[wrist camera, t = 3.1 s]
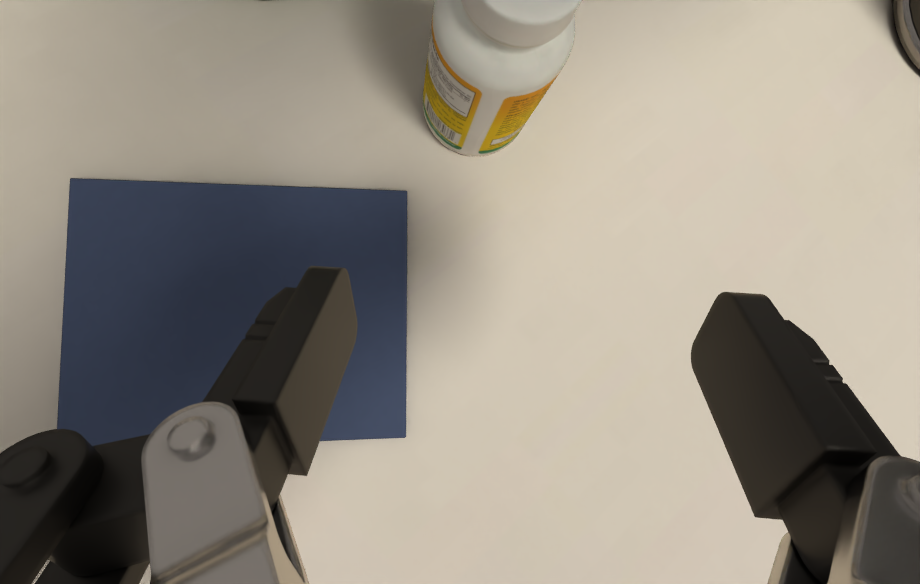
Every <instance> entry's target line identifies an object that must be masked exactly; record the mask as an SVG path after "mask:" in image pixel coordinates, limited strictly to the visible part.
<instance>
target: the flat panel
mask: <svg viewBox="0 0 920 584" xmlns="http://www.w3.org/2000/svg"><path fill="white" fill-rule="evenodd" d="M310 266H324V267H340V268H346V269H347V271H348V274H349V278H350V283H351V289H352V294H353V299H354V305H355V310H356V315H357V337H356V342H355V345H354V348H353V351H352V353H351V356H350V359H349V362H348V364H347V367H346V370H345V373H344V375H343V378H342V381H341V384H340V386H339V389H338V392H337V395H336V397H335V400H334V403H333V405H332V408H331V411H330V414H329V416H328V419H327V422H326V425H325V427H324V430H323V433H322V436H321V438H320V441H332V440H357V439H383V438H405V437H406V337H407V191H397V190H370V189H343V188H317V187H290V186H263V185H236V184H209V183H183V182H156V181H129V180H102V179H75V178H71V179H70V191H69V210H68V229H67V248H66V268H65V287H64V306H63V325H62V344H61V363H60V382H59V401H58V420H57V429H69V430H73V431H76V432H78V433H79V434H81V435H82V436H83V437H84V438H85V439H86V440H87V441H88V442H89V443H90V444H91V445H92V446H95V445H99V444H104V443H109V442H114V441H119V440H124V439H129V438H134V437H138V436H143V435H148V434H151V433H152V432H153V430H154V429H155V428H156V427H157V426H158V425H159V424H160V423H161V422H162V421H163V420H165V419H166V418H167V417H169V416H170V415H172V414H173V413H175V412H177V411H178V410H180V409H183V408H185V407H187V406H190V405H193V404H197V403H201V402H202V401H203V399H204V398H205V397H206V395H207V394H208V392H209V391H210V389H211V387H212V386H213V384H214V383H215V381H216V380H217V378H218V377H219V375H220V373H221V372H222V370H223V369H224V367H225V366H226V364H227V363H228V361H229V359H230V358H231V356H232V355H233V353H234V352H235V350H236V349H237V347H238V345H239V344H240V342H241V341H242V339H245V335H246V333H247V331H248V330H249V328H250V327H251V325H252V324H255V319H256V317H257V316H258V314H259V313H260V311H261V310H262V308H263V307H264V305H265V303H266V302H267V301H268V300H270V299H271V298H272V297H274V296H275V295H276V294H277V293H279V292H280V291H281V290H283V289H284V288H285V287H292V288H297V286H298V284H299V282H300V281H301V279H302V277H303V276H304V274H305V272H306V270H307V269H308V268H309V267H310Z"/></svg>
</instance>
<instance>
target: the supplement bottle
mask: <svg viewBox="0 0 920 584" xmlns="http://www.w3.org/2000/svg"><path fill="white" fill-rule="evenodd" d="M581 1H582V0H435V3H434V8H433V15H432V23H431V32H430V40H429V49H428V57H427V64H426V72H425V82H424V89H423V111H424V115H425V119H426V122H427V124H428V126H429V128H430V130H431V131H432V133H433V134H434V136H435V137H436V138H437V139H438V140H439V141H440V142H441V143H442V144H443V145H445V146H446V147H447V148H449V149H451V150H453V151H455V152H457V153H460V154H463V155H467V156H487V155H490V154H493V153H495V152H498V151H499V150H501V149H503V148H505V147H506V146H507V145H509V144H510V143H511V142H512V141H513V140H514V139H515V138H516V136H517V135H518V134H519V132H520V131H521V129H522V128H523V126H524V125H525V123H526V122H527V120H528V119H529V117H530V116H531V114H532V113H533V111H534V110H535V108H536V107H537V105H538V104H539V102H540V101H541V99H542V98H543V96H544V95H545V93H546V92H547V90H548V89H549V87H550V86H551V84H552V83H553V81H554V80H555V79H556V77H557V76H558V74H559V72H560V71H561V69H562V68H563V66H564V65H565V63H566V61H567V59H568V57H569V55H570V52H571V49H572V46H573V42H574V37H575V12H576V10H577V8H578V6H579V4H580V3H581Z"/></svg>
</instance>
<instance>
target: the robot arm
mask: <svg viewBox="0 0 920 584" xmlns="http://www.w3.org/2000/svg"><path fill="white" fill-rule="evenodd" d="M893 12H894V20H895V26H896V29H897V33H898V36H899V38H900V41H901V43H902V45H903V47H904V49H905V51H906V53H907V54H908V56H909V57H910V59H911V60H912V62H913V63H914V64H915V65H916V67H917V68H918V69H919V70H920V0H894V1H893ZM356 337H357V315H356V310H355V305H354V299H353V294H352V289H351V283H350V278H349V274H348V271H347V269H346V268H340V267H324V266H310V267H309V268H308V269H307V270H306V272H305V274H304V276H303V277H302V279H301V281H300V282H299V284H298V286H297V288H292V287H285V288H284V289H283V290H281V291H280V292H279V293H277V294H276V295H275V296H274V297H272V298H271V299H270V300H268V301H267V302H266V303H265V305H264V307H263V308H262V310H261V311H260V313H259V314H258V316H257V317H256V319H255V324H252V325H251V327H250V328H249V330H248V331H247V333H246V335H245V339H242V341H241V342H240V344H239V345H238V347H237V349H236V350H235V352H234V353H233V355H232V356H231V358H230V359H229V361H228V363H227V364H226V366H225V367H224V369H223V370H222V372H221V373H220V375H219V377H218V378H217V380H216V381H215V383H214V384H213V386H212V387H211V389H210V391H209V392H208V394H207V395H206V397H205V398H204V399H203V401H202V402H201V403H197V404H193V405H190V406H187V407H185V408H183V409H180V410H178V411H177V412H175V413H173V414H172V415H170V416H169V417H167V418H166V419H165V420H163V421H162V422H161V423H160V424H159V425H158V426H157V427H156V428H155V429H154V430H153V432H152V433H151V434H148V435H143V436H138V437H134V438H129V439H124V440H119V441H114V442H109V443H104V444H99V445H95V446H92V445H91V444H90V443H89V442H88V441H87V440H86V439H85V438H84V437H83V436H82V435H81V434H79V433H78V432H76V431H73V430H69V429H54V430H49V431H44V432H41V433H37V434H35V435H32V436H30V437H27V438H25V439H23V440H21V441H19V442H17V443H16V444H14V445H12V446H11V447H9V448H7V449H6V450H5V451H3V452H2V453H0V584H31V583H32V582H33V580H34V579H35V577H36V576H37V574H38V573H39V571H40V570H41V568H42V567H43V565H44V564H45V562H46V561H47V560H50V562H49V563H48V565H47V566H46V568H45V569H44V571H43V572H42V574H41V575H40V577H39V578H38V580H37V581H36V583H35V584H139V582H140V581H141V579H142V577H143V575H144V573H145V571H146V569H147V567H148V565H149V563H150V566H151V581H150V584H309V581H308V578H307V575H306V572H305V569H304V566H303V563H302V560H301V556H300V553H299V550H298V547H297V544H296V541H295V538H294V535H293V532H292V529H291V526H290V522H289V519H288V516H287V513H286V510H285V507H284V504H283V501H282V498H281V495H280V492H281V490H282V487H283V485H284V482H285V480H286V477H287V475H288V474H293V475H304V476H307V474H308V471H309V469H310V466H311V463H312V460H313V458H314V455H315V452H316V449H317V447H318V444H319V441H320V438H321V436H322V433H323V430H324V427H325V425H326V422H327V419H328V416H329V414H330V411H331V408H332V405H333V403H334V400H335V397H336V395H337V392H338V389H339V386H340V384H341V381H342V378H343V375H344V373H345V370H346V367H347V364H348V362H349V359H350V356H351V353H352V351H353V348H354V345H355V342H356ZM691 363H692V368H693V371H694V373H695V376H696V378H697V380H698V383H699V385H700V387H701V390H702V392H703V395H704V397H705V399H706V402H707V404H708V406H709V409H710V411H711V414H712V416H713V418H714V421H715V423H716V425H717V428H718V430H719V433H720V435H721V437H722V440H723V442H724V444H725V447H726V449H727V452H728V454H729V456H730V459H731V461H732V463H733V466H734V468H735V471H736V473H737V475H738V478H739V480H740V482H741V485H742V487H743V490H744V492H745V494H746V497H747V499H748V501H749V504H750V506H751V509H752V511H753V513H754V516H755V517H758V518H770V519H781V520H783V521H784V523H785V525H786V527H787V530H788V533H786V534H785V535H784V536H783V538H782V539H781V542H780V544H779V548H778V551H777V554H776V557H775V561H774V564H773V567H772V570H771V574H770V577H769V580H768V583H767V584H920V462H919V461H916V460H913V459H910V458H906V457H902V456H900V455H899V454H898V452H897V451H896V450H895V448H894V447H893V446H892V444H891V443H890V441H889V440H888V439H887V437H886V436H885V435H884V433H883V432H882V431H881V429H880V428H879V427H878V425H877V424H876V423H875V421H874V420H873V419H872V417H871V416H870V415H869V413H868V412H867V411H866V409H865V408H864V407H863V405H862V404H861V403H860V401H859V400H858V398H857V397H856V396H855V394H854V393H853V392H852V390H851V389H850V388H849V386H848V385H847V384H846V383H843V382H842V380H843V378H842V377H841V376H840V374H839V373H838V372H837V370H836V369H835V368H834V366H833V365H829V360H828V358H827V357H826V355H825V354H824V353H823V351H822V350H821V349H820V347H819V346H818V345H817V343H816V342H815V341H814V339H812V338H811V337H810V336H809V335H807V334H806V333H805V332H803V331H802V330H801V329H800V328H798V327H797V326H796V325H795V324H793V323H792V322H791V321H789V320H784V319H783V317H782V316H781V315H780V313H779V312H778V310H777V309H776V308H775V306H774V305H773V303H772V302H771V300H770V299H769V298H768V297H767V296H765V295H763V294H749V293H733V292H723V293H721V294H720V295H718V297H717V298H716V299H715V301H714V303H713V305H712V307H711V309H710V311H709V313H708V315H707V317H706V319H705V321H704V323H703V324H702V326H701V328H700V330H699V332H698V334H697V336H696V338H695V340H694V342H693V345H692V350H691Z"/></svg>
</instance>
